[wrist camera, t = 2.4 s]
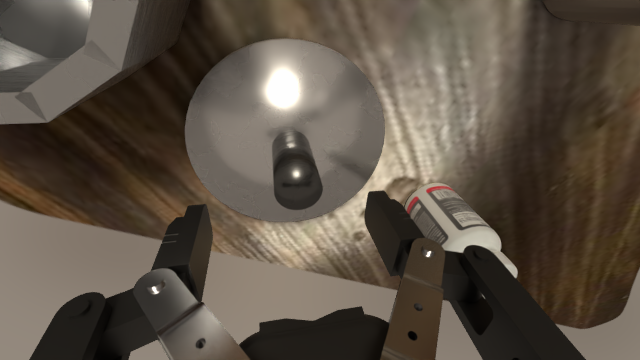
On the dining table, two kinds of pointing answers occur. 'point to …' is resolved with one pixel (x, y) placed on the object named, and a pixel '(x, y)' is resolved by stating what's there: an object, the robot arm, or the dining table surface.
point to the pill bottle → (452, 221)
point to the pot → (76, 50)
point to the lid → (284, 130)
